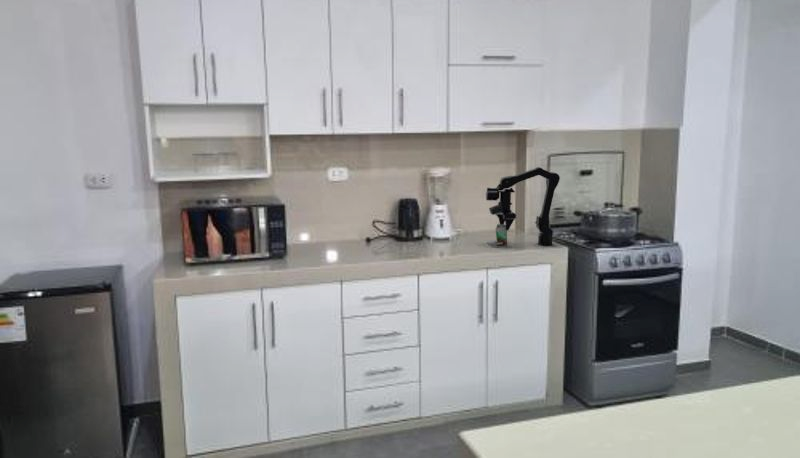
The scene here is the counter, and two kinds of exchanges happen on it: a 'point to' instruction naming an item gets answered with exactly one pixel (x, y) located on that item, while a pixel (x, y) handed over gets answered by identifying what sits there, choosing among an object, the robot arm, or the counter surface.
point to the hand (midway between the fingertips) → (504, 228)
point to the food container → (501, 234)
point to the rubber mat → (495, 244)
